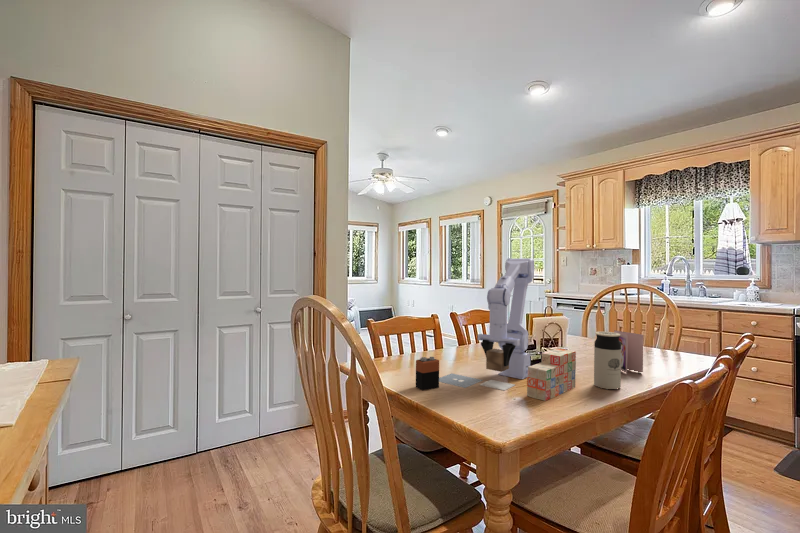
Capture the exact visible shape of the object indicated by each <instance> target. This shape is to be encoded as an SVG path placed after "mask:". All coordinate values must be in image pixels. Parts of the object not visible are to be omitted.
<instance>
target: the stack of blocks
mask: <svg viewBox="0 0 800 533" xmlns="http://www.w3.org/2000/svg"><path fill="white" fill-rule="evenodd" d="M576 355H577V351H576V350H571V349H563V348H554V349H550V350H547V351H544V352H542V353H541V362H539V363H536V364H533V365H530V366H529V367H528V377H526V379H527V380H526V381H527V382H526V387H527V388H526V391H527V393H526V396H527V397H530V398H533V399H537V400H541V401H548V400H550V399H553V398H555V397H557V396H559V395H561V394H564V393H565V392H567V390H568V391H570V390H571V388H572V389H574V388H576V371H577V370H576V369H577V368H576V367H577V366H576V364H577V361H576V358H577V356H576ZM573 387H574V388H573ZM569 389H570V390H569ZM564 391H565V392H564Z"/></svg>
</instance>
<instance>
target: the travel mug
mask: <svg viewBox="0 0 800 533" xmlns="http://www.w3.org/2000/svg"><path fill="white" fill-rule="evenodd" d="M595 336H596V339H595V340H594V342H593V343H594V344H593V345H594V346H593V349H594V354H593V355H594V358H593V362H594V363H593V385H594V386H595V387H597V386H598V387H597V388H599V387H601V388H600V389H602V388H606V389H605V390H608V389H617V388H620V387H622V386H621V381H622V379H621V376H622V374H621V373H622V372H621V343H620V341H619V337H620V334H619V333H614V332H612V331H596V332H595ZM620 389H621V388H620ZM617 390H618V389H617Z"/></svg>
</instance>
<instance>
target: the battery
mask: <svg viewBox="0 0 800 533" xmlns="http://www.w3.org/2000/svg"><path fill="white" fill-rule="evenodd" d="M439 378H440V360H439V359H436V358H435V356H429V357H426V356H425V357H424V356H422V357H420V358H419V359H416V360H415V388H417V389H419V390H421V391H427V390H432V389H433V390H434V389H437V388H440V382H439Z"/></svg>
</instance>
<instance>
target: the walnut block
mask: <svg viewBox="0 0 800 533" xmlns="http://www.w3.org/2000/svg"><path fill="white" fill-rule="evenodd" d="M485 359H486V360H485V361H486V362H485V363H486V364H485V365H486V366H485V369H486V370H490V371H495V372H499V373H500V372H502V371H505V370H507V369H509V365H508V366H504V353H503V350H501V348H500V349H499V348H493V349H491V350H488V351H486V355H485Z"/></svg>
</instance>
